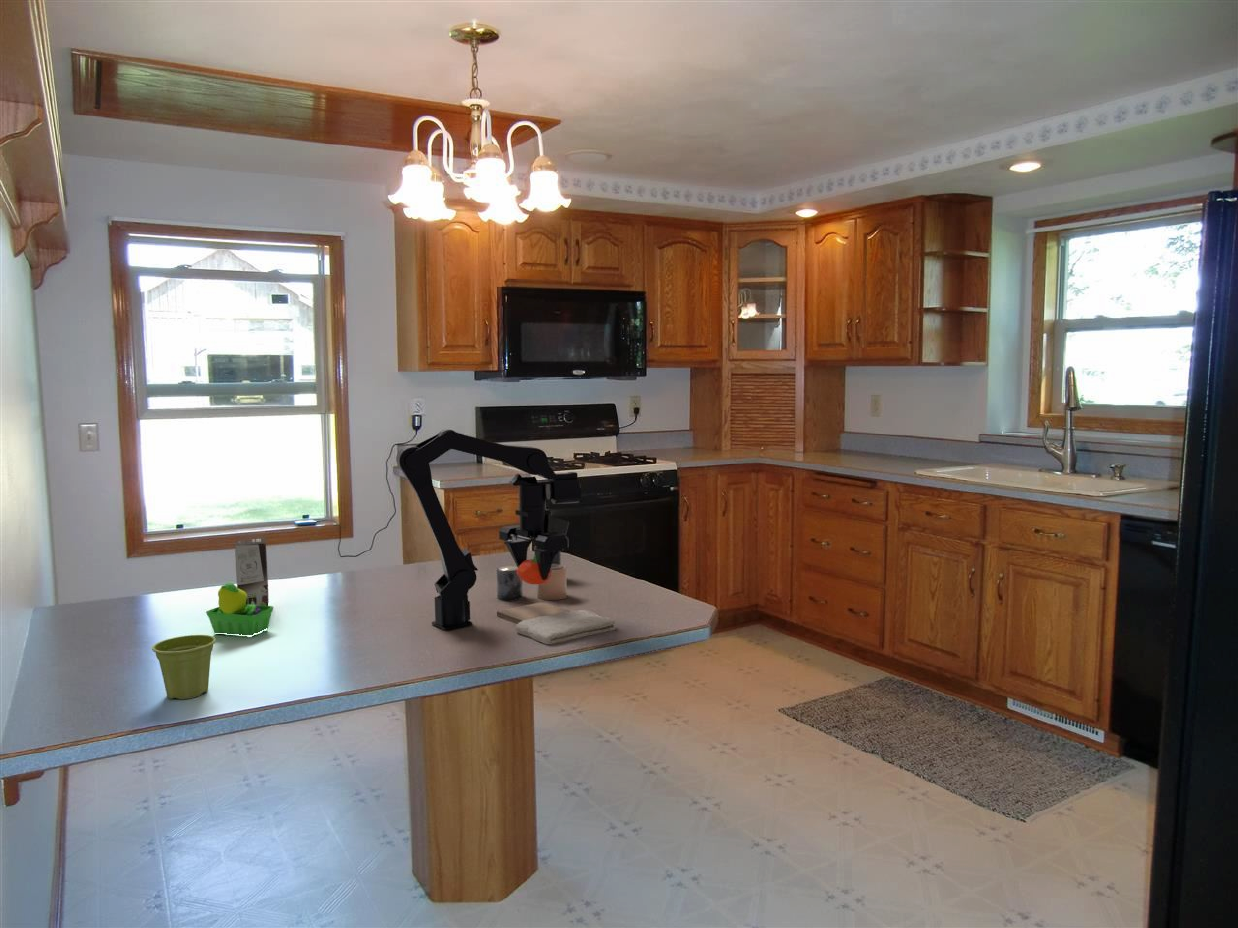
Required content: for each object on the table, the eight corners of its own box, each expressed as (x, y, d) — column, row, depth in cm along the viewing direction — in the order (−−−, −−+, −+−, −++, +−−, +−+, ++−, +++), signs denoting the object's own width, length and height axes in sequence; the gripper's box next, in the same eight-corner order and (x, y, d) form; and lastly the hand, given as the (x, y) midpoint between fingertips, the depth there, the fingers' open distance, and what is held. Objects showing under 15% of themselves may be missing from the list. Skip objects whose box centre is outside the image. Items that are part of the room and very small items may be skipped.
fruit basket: (277, 629, 180) (274, 576, 179) (248, 642, 171) (245, 586, 170) (231, 626, 183) (228, 574, 182) (200, 638, 174) (197, 583, 173)
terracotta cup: (548, 601, 200) (547, 571, 199) (531, 596, 205) (531, 567, 205) (572, 596, 204) (572, 567, 204) (555, 591, 210) (555, 563, 209)
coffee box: (269, 614, 192) (265, 542, 190) (237, 617, 190) (233, 545, 188) (269, 604, 200) (266, 536, 199) (239, 607, 198) (235, 538, 197)
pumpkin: (537, 580, 192) (540, 551, 192) (556, 586, 185) (558, 557, 185) (509, 580, 188) (512, 551, 188) (526, 587, 181) (529, 556, 181)
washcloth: (619, 631, 177) (619, 616, 177) (547, 648, 166) (547, 632, 166) (584, 619, 186) (584, 605, 186) (514, 635, 175) (514, 620, 175)
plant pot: (160, 708, 136) (156, 655, 135) (151, 691, 143) (148, 641, 143) (223, 695, 141) (220, 644, 140) (212, 680, 149) (209, 631, 148)
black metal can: (506, 601, 200) (505, 572, 200) (492, 597, 205) (491, 568, 204) (527, 597, 204) (526, 568, 203) (513, 593, 209) (513, 564, 208)
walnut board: (527, 627, 179) (527, 622, 179) (496, 615, 188) (496, 611, 188) (573, 616, 187) (573, 612, 187) (542, 606, 196) (542, 601, 196)
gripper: (588, 506, 183) (589, 578, 185) (539, 497, 197) (540, 564, 199) (545, 511, 176) (546, 586, 177) (497, 502, 190) (498, 571, 192)
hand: (533, 576), depth 187 cm, fingers closed on pumpkin, 8 cm apart
